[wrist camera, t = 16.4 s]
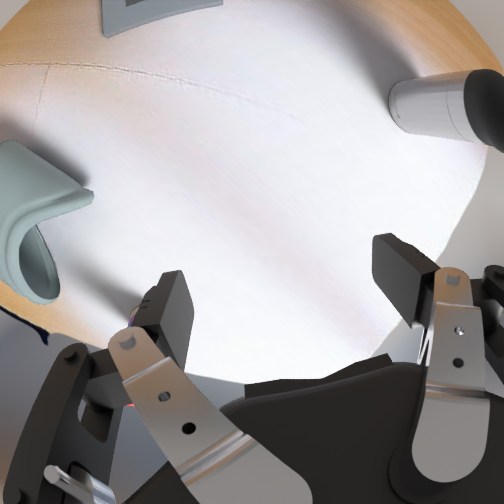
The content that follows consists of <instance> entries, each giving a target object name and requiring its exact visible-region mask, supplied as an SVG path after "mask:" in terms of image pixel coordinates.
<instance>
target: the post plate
mask: <svg viewBox="0 0 504 504" xmlns="http://www.w3.org/2000/svg"><path fill="white" fill-rule="evenodd" d="M219 5H223V0H102V16H103V33H104V36H105V37H106V38H109V37H112V36H114V35H117V34H119V33H122V32H124V31H127V30H130V29H132V28H135V27H138V26H141V25H144V24H147V23H150V22H153V21H156V20H159V19H163V18H166V17H170V16H173V15H177V14H181V13H185V12H189V11H194V10H198V9H203V8H208V7H214V6H219Z"/></svg>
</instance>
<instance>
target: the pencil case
mask: <svg viewBox="0 0 504 504" xmlns="http://www.w3.org/2000/svg"><path fill="white" fill-rule="evenodd" d="M93 198H94V193H93V191H91V190H88V189H85V188H82V187H81V185H80V184H79V183H78V182H76V181H75V180H74V179H72V178H71V177H69V176H68V175H66V174H65V173H63V172H62V171H60V170H59V169H57V168H56V167H54V166H53V165H51V164H50V163H48V162H47V161H45V160H44V159H42V158H41V157H39V156H38V155H36V154H35V153H33V152H32V151H30V150H29V149H28V148H26V147H25V146H23V145H22V144H21V143H19V142H18V141H15V140H8V141H4V142H2V143H0V280H1V281H3V282H4V283H5V284H7V285H8V286H9V287H11V288H12V289H13V290H14V291H15V292H16V293H18V294H19V295H21V296H23V297H25V298H27V299H28V300H30V301H31V302H33V303H36V304H41V305H46V304H49V303H52V302H54V301H55V300H56V299H57V298H58V297H59V294H60V282H59V278H58V274H57V271H56V268H55V266H54V263H53V261H52V258H51V256H50V253H49V251H48V249H47V246H46V244H45V242H44V240H43V242H44V244H43V242H42V240H41V238H40V236H39V234H38V232H37V230H38V228H37V226H36V224H38V223H40V222H42V221H45V220H47V219H50V218H52V217H55V216H58V215H61V214H65V213H68V212H71V211H74V210H77V209H79V208H82V207H84V206H87V205H89V204H90V203H91V202H92V200H93ZM35 226H36V228H37V230H36V228H35ZM38 231H39V230H38ZM39 233H40V232H39ZM40 235H41V234H40ZM41 237H42V236H41ZM42 239H43V238H42ZM44 245H45V246H44Z"/></svg>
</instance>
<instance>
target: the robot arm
mask: <svg viewBox="0 0 504 504" xmlns="http://www.w3.org/2000/svg"><path fill="white" fill-rule="evenodd" d="M389 108H390V113H391V115H392V117H393V119H394V121H395V123H396V124H397V125H398V126H399V127H400V128H401V129H402V130H403V131H405V132H407V133H410V134H417V135H426V136H434V137H442V138H449V139H455V140H462V141H468V142H473V143H479V144H484V145H489V146H493V147H495V148H496V149H497V150H499V151H501V152H503V153H504V77H503V76H502V75H501V74H500V73H498V72H496V71H494V70H490V69H480V70H469V71H461V72H453V73H446V74H439V75H433V76H427V77H421V78H415V79H410V80H406V81H401V82H399V83H397V84H396V85H395V86H394V87H393V88H392V90H391V92H390V95H389ZM372 275H373V279H374V281H375V283H376V284H377V285H378V287H379V288H380V289H381V290H382V292H383V293H384V294H385V295H386V297H387V298H388V299H389V300H390V302H391V303H392V304H393V306H394V307H395V308H396V309H397V311H398V312H399V313H400V315H401V316H402V317H403V319H404V320H405V321H406V322H407V324H408V325H409V327H410V328H411V329H413V328H416V327H419V326H422V325H423V326H424V330H423V334H422V339H421V345H420V350H419V355H418V360H417V364H416V363H408V362H392V360H391V359H390V357H389V356H388V354H387V353H386V354H383V355H379V356H377V357H373V358H369V359H366V360H362V361H359V362H355V363H353V364H351V365H349V366H347V367H345V368H343V369H341V370H339V371H337V372H335V373H333V374H331V375H329V376H327V377H325V378H321V379H279V380H273V381H267V382H260V383H254V384H246V385H244V386H245V396H242V397H239V398H237V399H235V400H232V401H230V402H229V403H227V404H225V405H223V406H222V407H221V408H219V409H217V408H216V407H215V406H214V405H213V404H212V403H211V402H210V401H209V399H208V398H207V397H206V396H205V395H204V394H203V393H202V392H201V391H200V390H199V389H198V388H197V387H196V386H195V385H194V384H193V383H192V381H191V380H190V379H189V378H188V377H187V376H186V375H185V374H184V369H185V363H186V357H187V351H188V346H189V340H190V335H191V329H192V324H193V319H194V307H193V302H192V299H191V296H190V293H189V290H188V287H187V284H186V281H185V278H184V275H183V272H182V271H181V270H177V271H171V272H165V273H163V274H162V276H161V278H160V280H159V282H158V284H157V286H153V287H152V288H151V289H150V290H149V291H148V292H147V293H146V294H145V296H144V298H143V300H142V303H141V304H140V306H139V309H138V310H137V312H136V314H135V317H134V319H133V321H132V323H131V325H130V327H128V328H125V329H123V330H120V331H119V332H117V333H116V334H115V335H114V336H113V337H112V338H111V339H110V341H109V343H108V348H107V349H104V350H100V351H97V352H94V353H90V351H89V350H88V348H87V347H86V345H85V344H83V343H75V344H72V345H69V346H68V347H66V348H65V349H63V350H62V351H61V352H60V353H59V355H58V356H57V358H56V360H55V362H54V364H53V366H52V368H51V369H50V371H49V373H48V375H47V378H46V379H45V381H44V383H43V385H42V388H41V390H40V392H39V394H38V396H37V398H36V400H35V403H34V405H33V407H32V409H31V412H30V414H29V417H28V419H27V421H26V424H25V426H24V429H23V431H22V434H21V437H20V439H19V442H18V444H17V447H16V450H15V453H14V456H13V459H12V462H11V465H10V468H9V472H8V475H7V479H6V482H5V486H4V490H3V502H4V504H116V503H115V496H114V494H113V492H112V490H111V489H110V488H109V487H108V485H109V478H110V472H111V466H112V460H113V454H114V449H115V443H116V439H117V433H118V429H119V424H120V420H121V415H122V410H123V406H126V405H130V404H134V406H135V408H136V409H137V411H138V413H139V415H140V417H141V418H142V420H143V422H144V423H145V425H146V427H147V428H148V430H149V431H150V433H151V435H152V436H153V438H154V439H155V441H156V442H157V444H158V445H159V447H160V448H161V450H162V451H163V453H164V454H165V456H166V457H167V459H168V461H167V462H166V463H165V464H164V465H163V466H162V467H161V468H160V469H159V470H158V471H157V472H156V473H155V474H154V475H153V476H152V477H151V478H150V479H149V480H148V481H147V482H146V483H144V484H143V485H142V486H141V487H140V488H139V489H138V490H137V491H136V492H135V493H134V494H133V495H131V496H130V498H128V499H127V500H126V501H125V502H124V503H122V504H504V398H503V397H500V396H498V395H495V394H492V393H489V392H487V391H485V358H486V359H487V361H488V362H489V364H490V365H491V367H492V368H493V369H494V371H495V372H496V374H497V375H498V377H499V378H500V380H501V381H502V383H503V384H504V328H503V327H502V326H501V325H500V321H501V318H502V315H503V313H504V267H502V266H498V265H490V266H487V267H486V268H485V270H484V274H483V278H482V279H470V278H469V276H468V275H467V274H466V273H465V272H464V271H461V270H459V269H457V268H451V267H445V268H440V267H439V266H438V265H437V264H435V263H434V262H433V261H432V260H431V259H429V258H428V257H427V256H426V257H425V255H424V254H423V253H422V252H420V251H419V250H418V249H417V248H415V247H414V246H413V245H410V244H408V243H405V242H403V241H401V240H400V239H399V238H397V237H396V236H395V235H393V234H392V233H386V234H380V235H375V236H374V237H373V242H372ZM81 399H83V400H84V401H85V402H86V407H85V410H84V413H83V416H82V419H81V422H79V420H78V415H77V411H78V407H79V405H80V402H81Z"/></svg>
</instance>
